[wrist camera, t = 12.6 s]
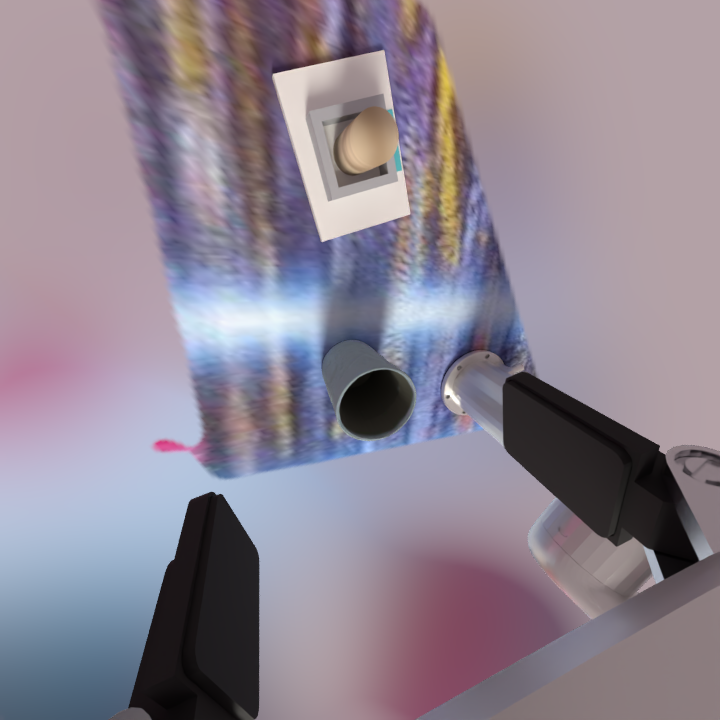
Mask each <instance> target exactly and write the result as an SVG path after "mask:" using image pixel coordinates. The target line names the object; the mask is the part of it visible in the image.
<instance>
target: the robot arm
mask: <svg viewBox="0 0 720 720" xmlns="http://www.w3.org/2000/svg"><path fill="white" fill-rule="evenodd" d="M522 370H524V366H523V365H522V364H521V363H519V364H516V365H514V366H512V367H507V366H505V365H504V363H503V361H502V360H501V359H500V357H499V356H497V355H496V354H494V353H492V352H490V351H486V350H477V351H472V352H470V353H467V354H465V355H464V356H462V357H460V358H459V359H458V360H457V361H456V362H455V363H454V364H453V365H452V366H451V367H450V368H449V370H448V371H447V373H446V375H445V377H444V379H443V383H442V387H441V396H442V400H443V402H444V404H445V405H446V407H447V408H448V409H449V410H450V411H452V412H453V413H455V414H458V415H469V416H470V417H471V418H472V419H473V420H475V421H476V422H477V423H478V424H479V425H480V426H481V427H482V428H483V429H484V430H486V431H487V432H488V433H489V434H490V435H491V436H492V437H493V438H494V439H496V440H497V441H498V442H499V443H500V444H501V445H502V446H503V447H504V448H505V449H506V450H507V452H508V453H509V454H510V455H511V456H512V457H513V458H514V459H515V460H516V461H517V462H519V463H520V464H521V465H522V466H523V467H524V468H525V469H526V470H527V471H528V472H529V473H531V474H532V475H533V476H534V477H535V478H536V479H537V480H538V481H539V482H540V483H541V484H543V485H544V486H545V487H546V488H547V489H548V490H549V491H550V492H551V493H553V495H554V496H556V498H555V499H554V500H553V501H552V502H551V504H550V505H549V506H548V507H547V508H546V510H545V511H544V512H543V513H542V514H541V515H540V517H539V518H538V519H537V520H536V522H535V523H534V524H533V526H532V527H531V529H530V531H529V534H528V546H529V549H530V551H531V554H532V555H533V557H534V559H535V560H536V562H537V563H538V564H539V566H540V567H541V568H542V570H543V571H544V572H545V573H546V574H547V575H548V576H549V577H550V579H551V580H552V581H553V582H554V583H555V584H556V585H557V586H558V587H559V588H560V589H561V590H562V591H563V592H564V593H565V594H566V595H567V596H568V597H569V598H570V599H571V600H572V601H573V602H574V603H575V604H576V605H577V606H578V607H579V608H580V609H581V610H582V611H583V612H584V613H585V614H586V615H587V616H588V617H589V618H590V619H591V621H589V622H587V623H585V624H583V625H582V626H580V627H578V628H576V629H575V630H573V631H571V632H569V633H567V634H566V635H564V636H562V637H560V638H559V639H557V640H555V641H553V642H551V643H550V644H548V645H546V646H544V647H543V648H541V649H539V650H537V651H536V652H534V653H532V654H530V655H528V656H527V657H525V658H523V659H521V660H520V661H518V662H516V663H514V664H512V665H511V666H509V667H507V668H506V669H504V670H502V671H500V672H498V673H497V674H495V675H493V676H491V677H490V678H488V679H486V680H484V681H483V682H481V683H479V684H477V685H475V686H474V687H472V688H470V689H468V690H467V691H465V692H463V693H461V694H460V695H458V696H456V697H454V698H452V699H451V700H449V701H447V702H445V703H444V704H442V705H440V706H438V707H437V708H435V709H433V710H431V711H430V712H428V713H426V714H425V715H423V716H421V717H419V718H417V719H416V720H720V451H717V450H713V449H710V448H707V447H701V446H695V445H681V446H676V447H673V448H671V449H670V450H668V451H667V453H666V455H665V454H663V453H661V452H660V451H659V447H660V446H659V445H657V444H655V443H654V442H652V441H650V440H648V439H646V438H645V437H643V436H641V435H639V434H637V433H635V432H633V431H632V430H630V429H628V428H627V427H625V426H623V425H621V424H619V423H617V422H616V421H614V420H612V419H610V418H608V417H607V416H605V415H603V414H601V413H599V412H598V411H596V410H594V409H592V408H590V407H589V406H587V405H585V404H583V403H581V402H580V401H578V400H576V399H574V398H572V397H570V396H569V395H567V394H565V393H563V392H561V391H559V390H558V389H556V388H554V387H552V386H550V385H549V384H547V383H545V382H543V381H542V380H540V379H538V378H536V377H534V376H532V375H531V374H529V373H528V372H526V371H524V372H520V371H522ZM518 372H520V373H518ZM514 373H518V374H515V375H514ZM652 576H653V577H654V580H655V582H656V584H655V585H653V586H652V587H650V588H648V589H646V590H644V591H643V592H641V593H638V592H637V591H638V590H639V588H641V587H642V586H643V584H644V583H646V581H648V580H649V579H650V577H652ZM258 711H259V555H258V552H257V549H256V547H255V545H254V544H253V542H252V541H251V539H250V538H249V536H248V534H247V533H246V531H245V530H244V528H243V527H242V525H241V523H240V522H239V520H238V518H237V517H236V515H235V514H234V512H233V510H232V509H231V507H230V506H229V504H228V503H227V501H226V499H225V498H224V497H223V495H222V494H219V495H216V494H215V493H214V492H209V493H207V494H204V495H202V496H199V497H196V498H194V499H192V500H190V502H189V504H188V508H187V512H186V515H185V520H184V523H183V527H182V532H181V535H180V539H179V543H178V547H177V551H176V555H175V559H174V560H172V561H171V562H170V563H169V565H168V566H167V569H166V572H165V575H164V579H163V583H162V586H161V590H160V593H159V597H158V601H157V604H156V608H155V612H154V615H153V619H152V623H151V626H150V630H149V634H148V638H147V641H146V645H145V649H144V652H143V656H142V660H141V663H140V667H139V671H138V675H137V678H136V682H135V685H134V690H133V693H132V697H131V700H130V704H129V707H128V709H126V710H123V711H121V712H119V713H117V714H116V715H114V716H113V717H112V718H110V719H109V720H254V719H256V717H257V716H258Z"/></svg>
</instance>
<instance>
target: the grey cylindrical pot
mask: <svg viewBox="0 0 720 720" xmlns="http://www.w3.org/2000/svg"><path fill="white" fill-rule="evenodd" d="M322 375H323V378H324V381H325V384H326V387H327V390H328V394H329V397H330V400H331V402H332V404H333V407H334V411H335V415H336V418H337V421H338V423H339V425H340V427H341V429H342V430H343V431H344V432H345V433H346V434H347V435H349V436H351V437H352V438H355V439H358V440H363V441H375V440H380V439H383V438H386V437H388V436H390V435H392V434H393V433H395V432H397V431H398V430H399V429H400V428H401V427H402V426H403V425H404V424H405V423H406V422H407V421H408V419H409V418H410V416H411V414H412V412H413V410H414V407H415V403H416V390H415V386H414V384H413V382H412V380H411V379H410V377H409V376H408V375H407V374H406V373H405V372H403V371H402V370H400V369H399V368H398V367H396V366H395V365H393V364H391V363H389V362H388V361H387V360H386V359H385V358H384V357H383V356H381V355H379V354H378V353H377V352H376V351H375V350H374V349H373V348H371V347H370V346H369V345H367V344H366V343H364V342H362V341H359V340H345V341H343V342H340V343H338V344H336V345H335V346H334V347H332V348H331V349H330V350H329V351H328V353H327V354H326V356H325V357H324V360H323V364H322Z"/></svg>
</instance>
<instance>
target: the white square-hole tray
mask: <svg viewBox="0 0 720 720" xmlns="http://www.w3.org/2000/svg"><path fill="white" fill-rule="evenodd" d="M272 79H273V82H274V86H275V89H276V92H277V96H278V99H279V102H280V106H281V109H282V113H283V116H284V119H285V123H286V126H287V129H288V133H289V136H290V139H291V143H292V146H293V150H294V153H295V156H296V160H297V163H298V166H299V170H300V173H301V176H302V180H303V183H304V186H305V190H306V193H307V197H308V200H309V203H310V207H311V210H312V213H313V217H314V220H315V223H316V227H317V230H318V234H319V237H320V240H321V242H323V241H326V240H330V239H333V238H336V237H339V236H342V235H346V234H349V233H352V232H355V231H358V230H362V229H365V228H368V227H371V226H374V225H378V224H381V223H384V222H387V221H391V220H394V219H397V218H400V217H403V216H407V215H410V209H409V202H408V196H407V190H406V184H405V177H404V171H403V165H402V159H401V152H400V146H399V140H398V146H397V149H396V151H395V153H394V155H393V156H392V158H391V159H390V160H389V161H388V162H386V163H384V164H382V165H380V166H377V167H375V168H373V169H370V170H368V171H366V172H364V173H361V174H359V175H356V176H350V175H347V174H345V173H343V172H342V171H341V170H340V169H339V168H338V166H337V164H336V162H335V160H334V155H333V148H334V143H335V140H336V138H337V137H338V136H339V135H340V133H341V132H342V131H343V130H344V129H345V128H346V127H347V126H348V125H349V124H350V123H351V122H352V121H353V120H354V119H355V118H356V117H357V116H358V115H359V114H360V113H361V112H362V111H363V110H365V109H366V108H369V107H373V106H377V107H381V108H383V109H385V110H387V111H388V112H389V113H390V114H391V115H392V117H393V118H394V120H395V115H394V108H393V102H392V96H391V90H390V83H389V77H388V71H387V65H386V58H385V52H384V50H381V51H377V52H372V53H367V54H363V55H358V56H353V57H349V58H344V59H340V60H335V61H330V62H326V63H321V64H316V65H312V66H307V67H303V68H298V69H293V70H289V71H284V72H279V73H275V74H273V76H272ZM395 122H396V121H395Z"/></svg>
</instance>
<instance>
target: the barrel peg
mask: <svg viewBox="0 0 720 720" xmlns="http://www.w3.org/2000/svg"><path fill="white" fill-rule="evenodd" d="M398 139H399V134H398V128H397V125H396V122H395V120H394V118H393V117H392V115H391V114H390V113H389V112H388V111H387V110H385V109H383V108H381V107H377V106H373V107H369V108H366V109H365V110H363V111H362V112H361V113H360V114H359V115H358V116H357V117H356V118H355V119H354V120H353V121H352V122H351V123H350V124H349V125H348V126H347V127H346V128H345V129H344V130H343V131H342V132H341V133H340V135H339V136H338V137H337V138H336V140H335V143H334V148H333V155H334V160H335V162H336V164H337V166H338V168H339V169H340V170H341V171H342V172H343V173H345V174H347V175H350V176H356V175H359V174H361V173H364V172H366V171H368V170H370V169H373V168H375V167H377V166H380V165H382V164H384V163H386V162H388V161H389V160H390V159H391V158H392V156H393V155H394V153H395V151H396V149H397V146H398Z"/></svg>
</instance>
